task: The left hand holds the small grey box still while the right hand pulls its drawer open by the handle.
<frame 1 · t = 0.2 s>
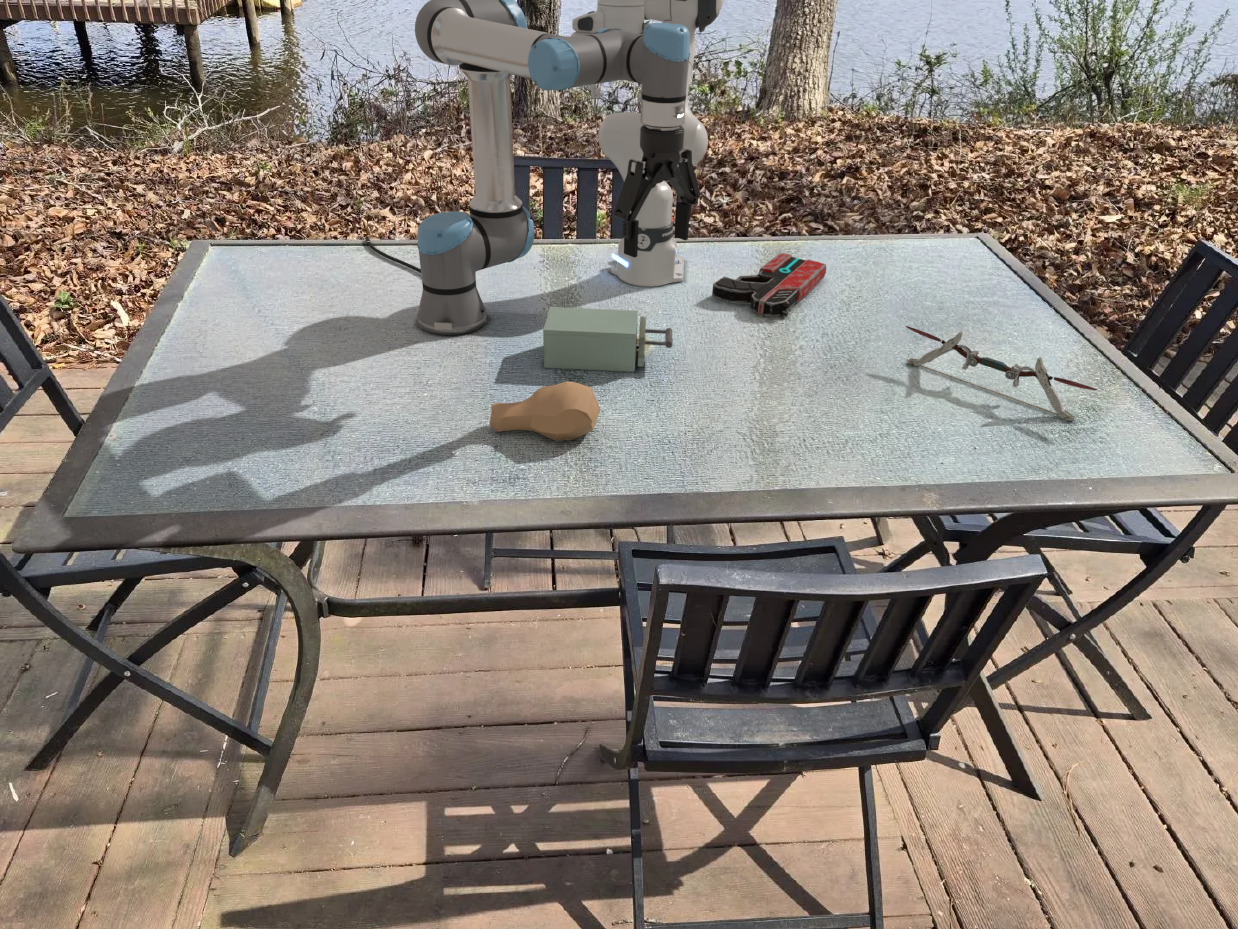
left hand: (656, 246, 161), 28 cm above the table, tool pointing down, fingers open, 13 cm apart
right hand: (618, 100, 171), 48 cm above the table, tool pointing down, fingers open, 8 cm apart
squash: (545, 431, 159), on the table
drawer: (616, 339, 182), point 4 cm above the table, slide at 0.6 cm
gun: (770, 291, 216), on the table
grey box: (591, 357, 184), on the table
bow: (985, 390, 176), on the table
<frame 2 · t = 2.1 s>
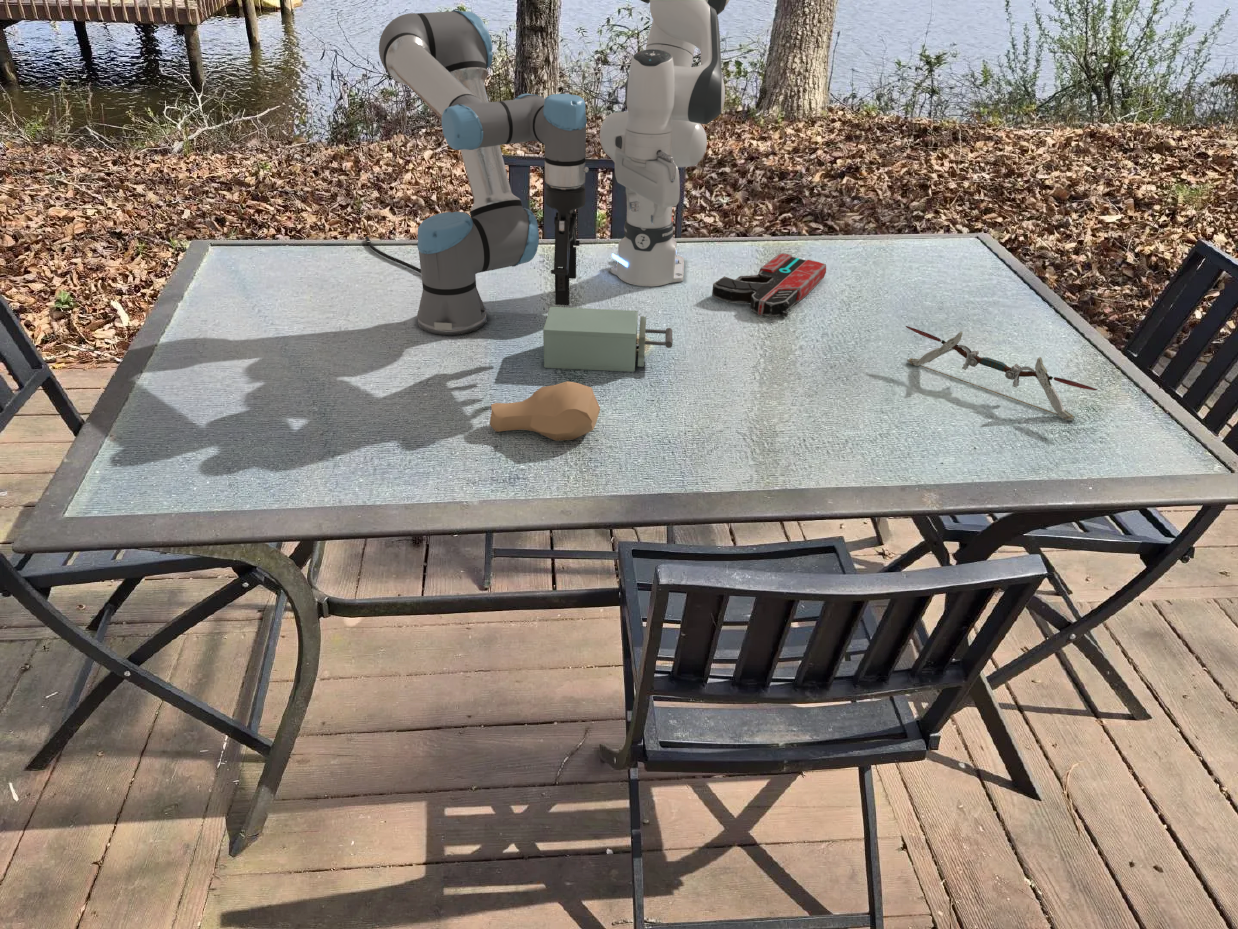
left hand: (566, 290, 176), 15 cm above the table, tool pointing down, fingers open, 13 cm apart
right hand: (644, 217, 174), 28 cm above the table, tool pointing down, fingers open, 8 cm apart
nothing on the table moved.
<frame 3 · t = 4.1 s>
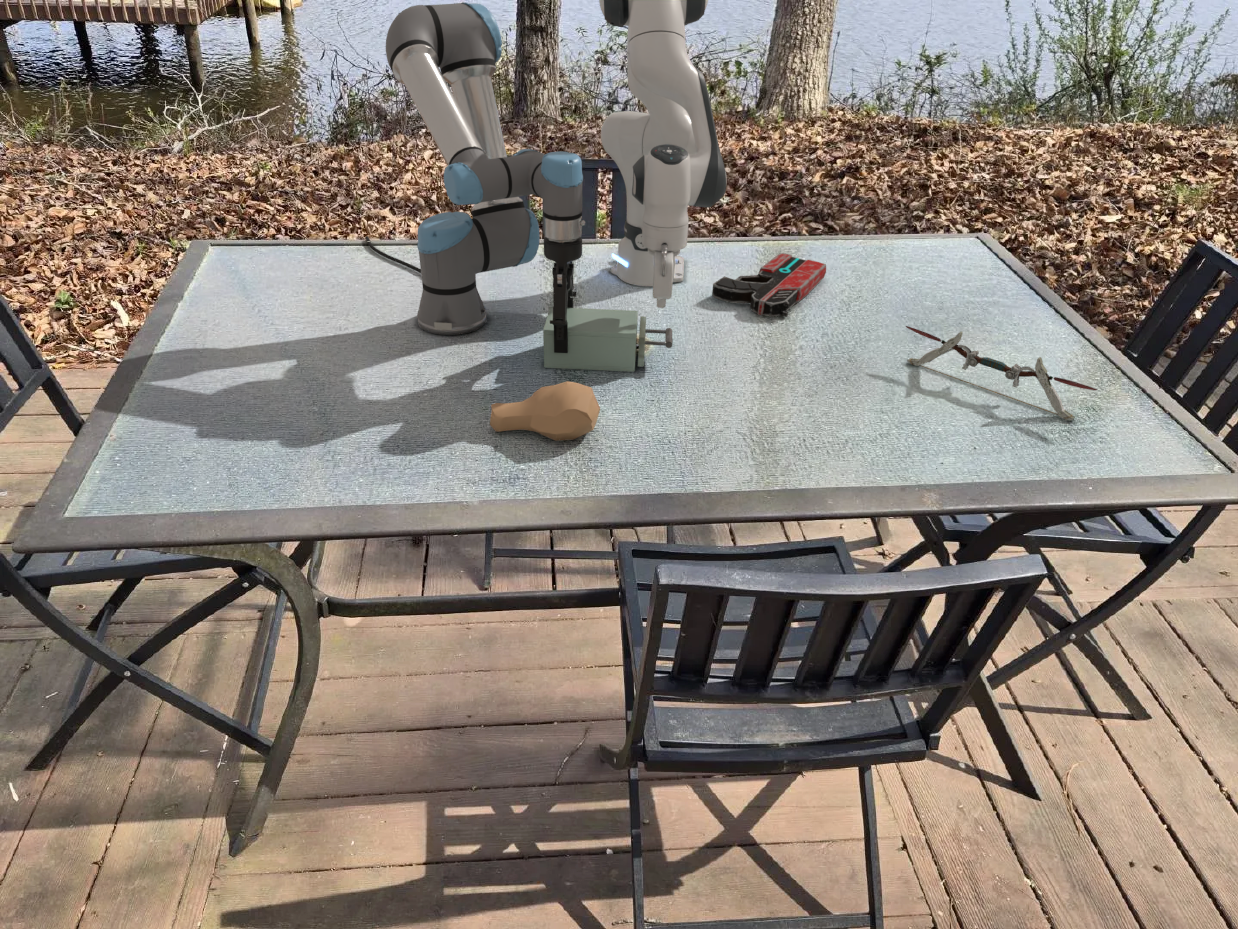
left hand: (564, 339, 182), 4 cm above the table, tool pointing down, fingers closed on grey box, 11 cm apart
right hand: (661, 302, 177), 13 cm above the table, tool pointing down, fingers open, 3 cm apart
grey box: (591, 357, 184), on the table, touching left hand
everything else where it was.
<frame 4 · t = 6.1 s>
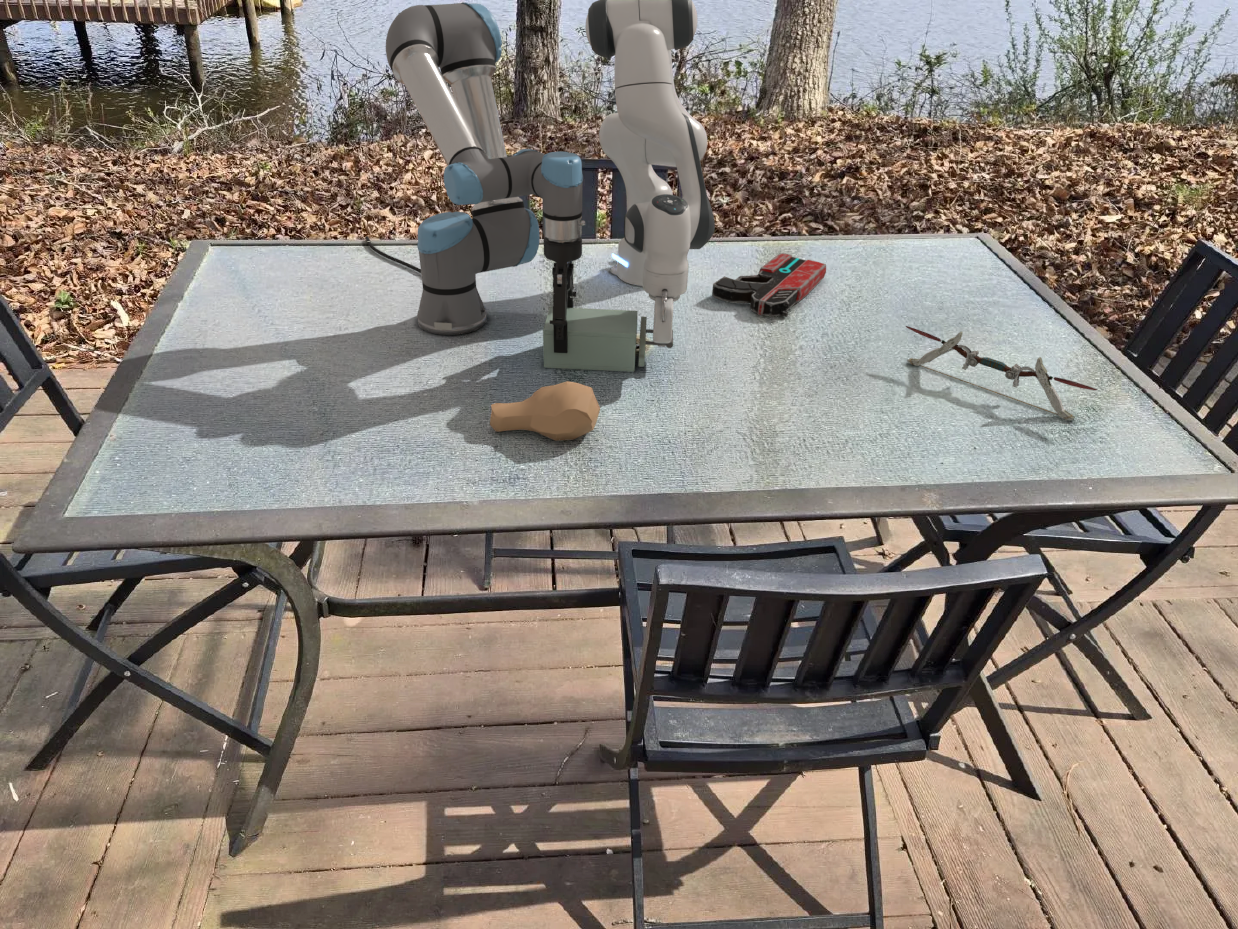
left hand: (563, 339, 182), 4 cm above the table, tool pointing down, fingers closed on grey box, 11 cm apart
right hand: (661, 343, 182), 4 cm above the table, tool pointing down, fingers closed, pressing on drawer
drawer: (617, 339, 182), point 4 cm above the table, slide at 0.8 cm, touching right hand
grey box: (591, 357, 184), on the table, touching left hand
everything else where it was.
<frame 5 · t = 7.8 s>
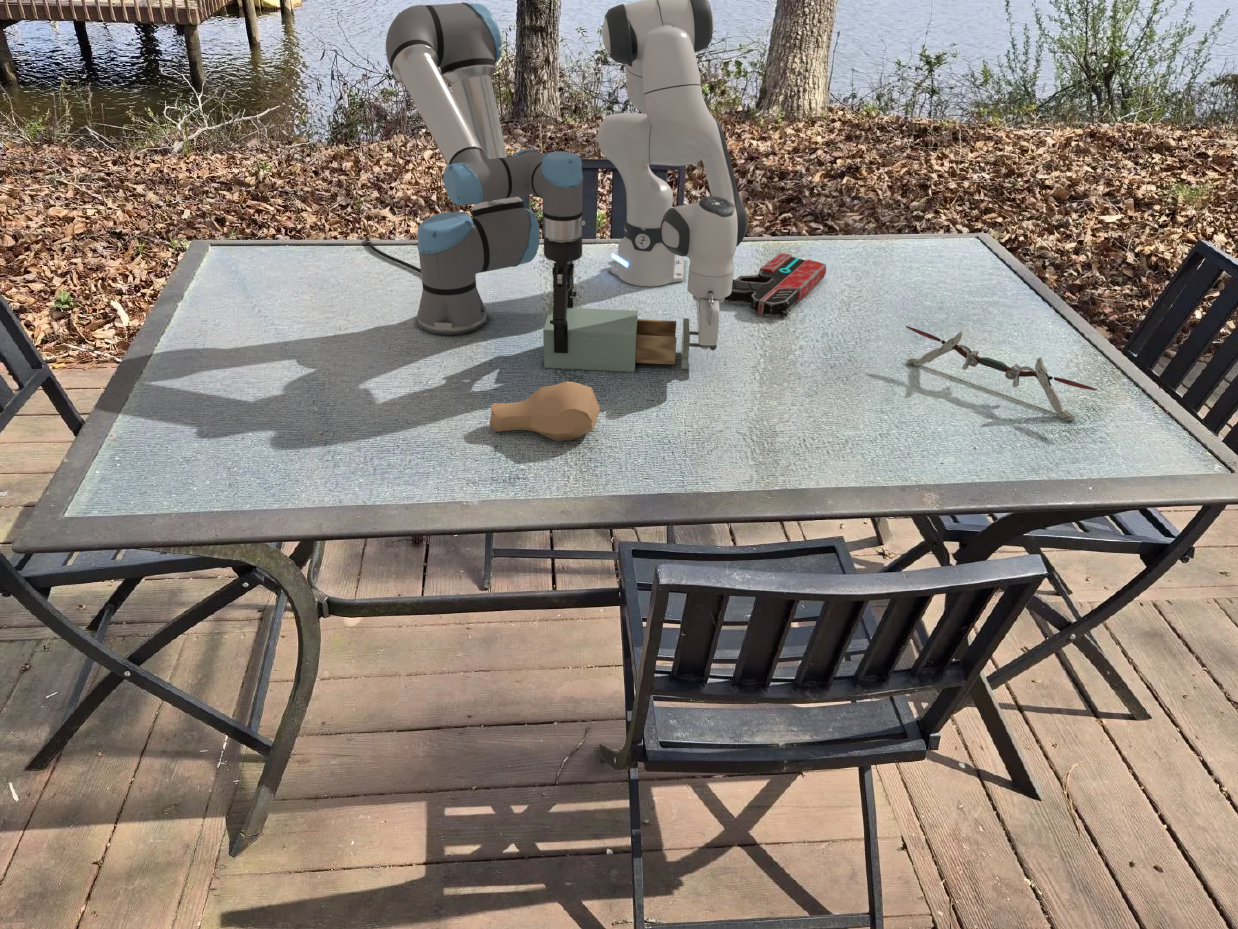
left hand: (564, 339, 182), 4 cm above the table, tool pointing down, fingers closed on grey box, 11 cm apart
right hand: (704, 345, 181), 4 cm above the table, tool pointing down, fingers closed, pressing on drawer
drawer: (660, 341, 181), point 4 cm above the table, slide at 9.6 cm, touching right hand
grey box: (591, 357, 184), on the table, touching left hand
everything else where it was.
when the left hand's fingers open (4 cm above the table, at t = 9.7 s): grey box stays where it is, on the table.
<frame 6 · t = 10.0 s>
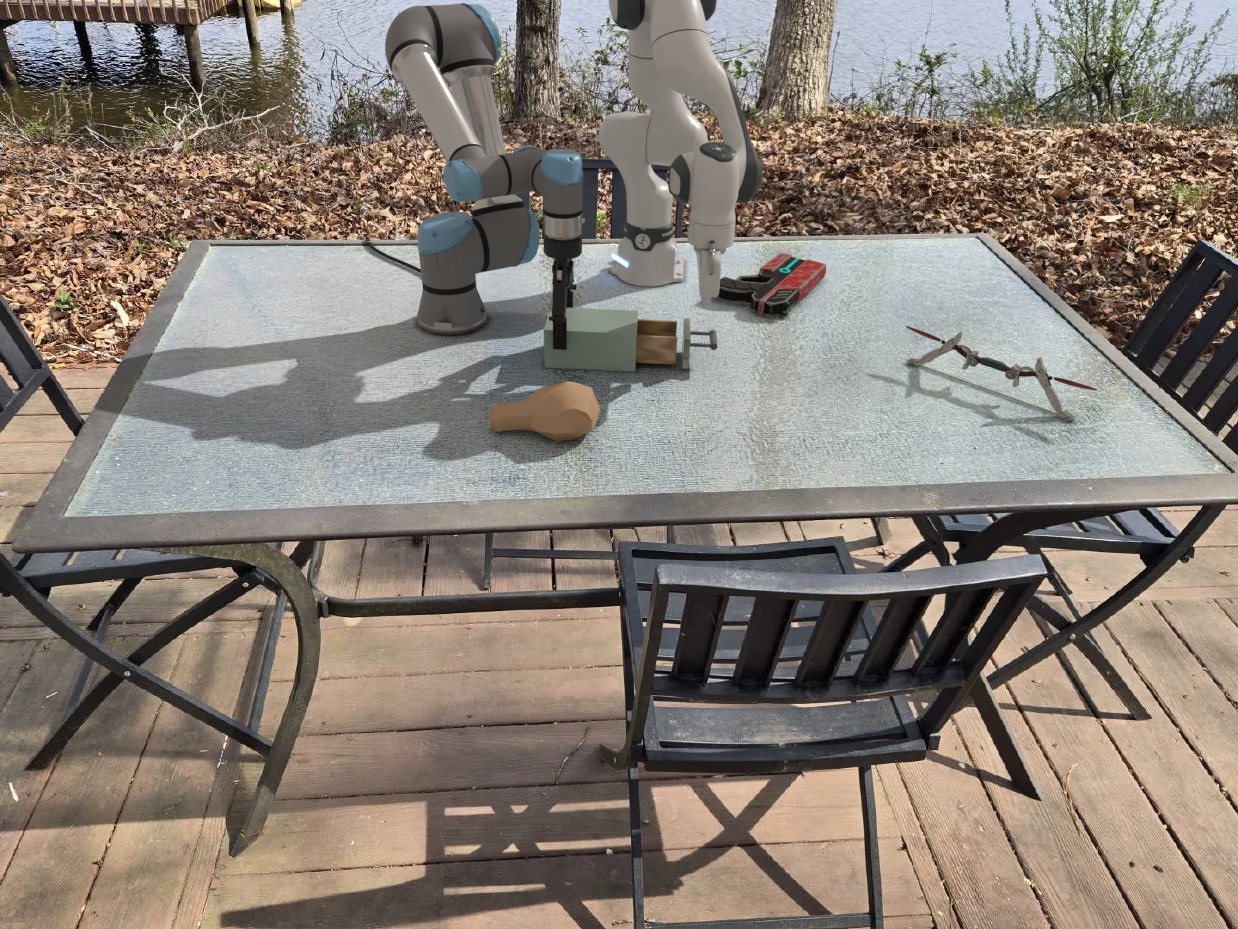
left hand: (563, 334, 182), 5 cm above the table, tool pointing down, fingers open, 13 cm apart
right hand: (705, 300, 176), 14 cm above the table, tool pointing down, fingers closed
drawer: (660, 341, 181), point 4 cm above the table, slide at 9.6 cm
grey box: (591, 357, 184), on the table
everything else where it was.
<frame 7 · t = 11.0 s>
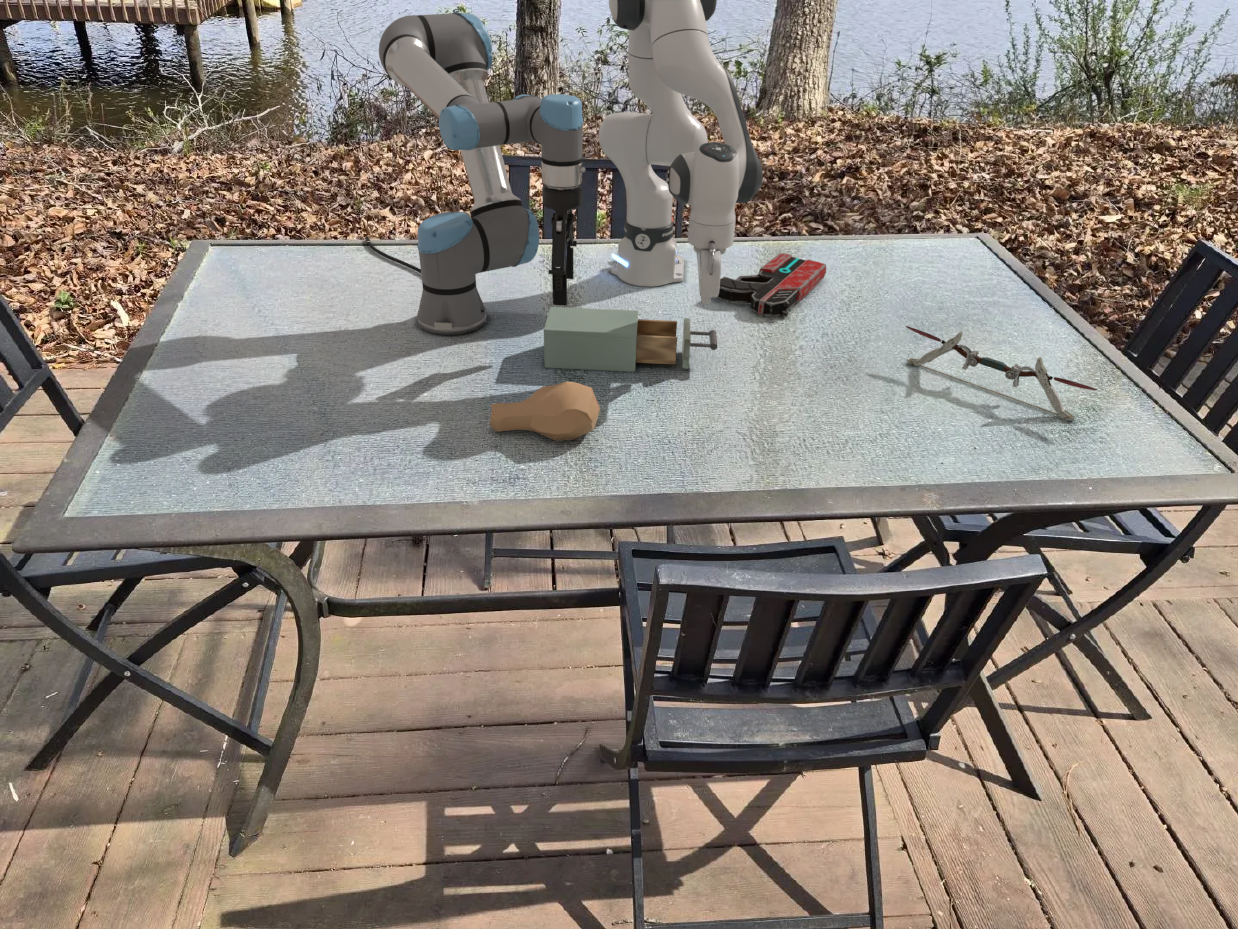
left hand: (563, 291, 176), 14 cm above the table, tool pointing down, fingers open, 13 cm apart
right hand: (705, 300, 176), 14 cm above the table, tool pointing down, fingers closed
nothing on the table moved.
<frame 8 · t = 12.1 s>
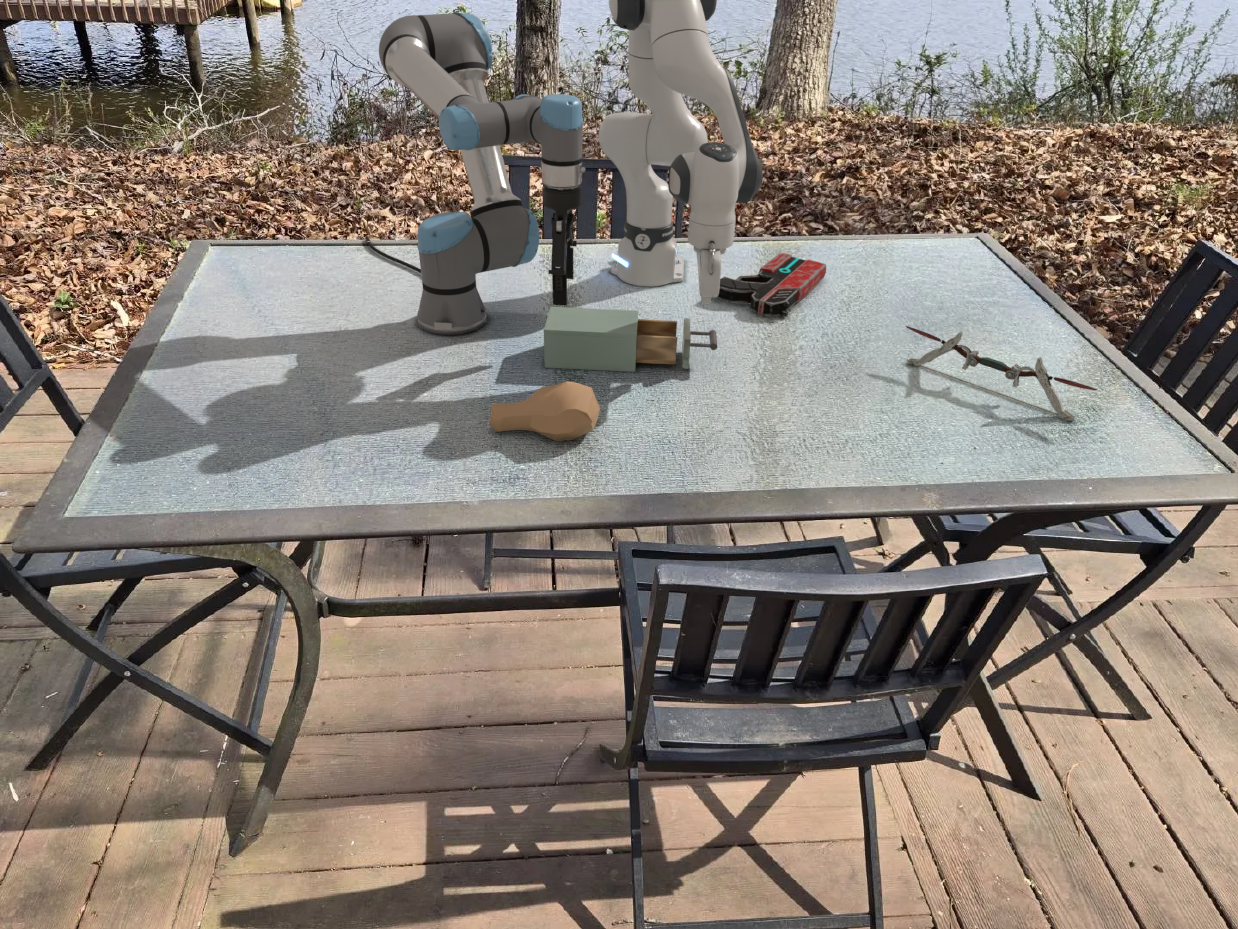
left hand: (563, 291, 176), 14 cm above the table, tool pointing down, fingers open, 13 cm apart
right hand: (705, 300, 176), 14 cm above the table, tool pointing down, fingers closed
nothing on the table moved.
at the end: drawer slide at 9.6 cm; grey box tilted 0°; grey box never tilted more than 1° during the clip; grey box moved 0.1 cm from its start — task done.
